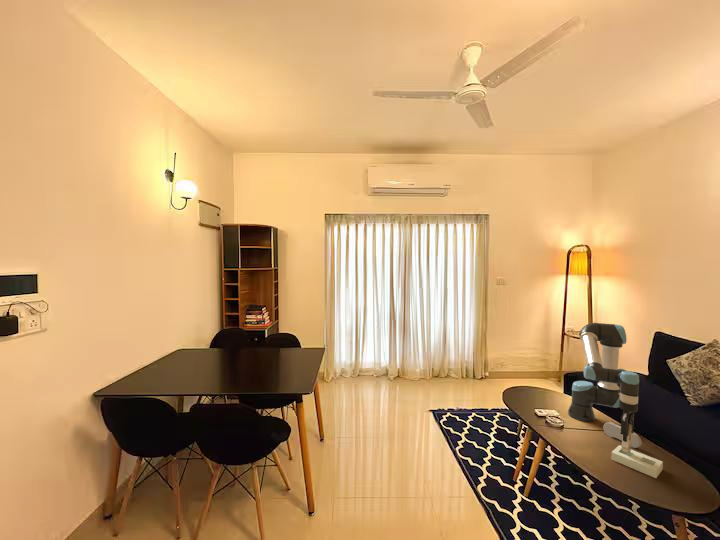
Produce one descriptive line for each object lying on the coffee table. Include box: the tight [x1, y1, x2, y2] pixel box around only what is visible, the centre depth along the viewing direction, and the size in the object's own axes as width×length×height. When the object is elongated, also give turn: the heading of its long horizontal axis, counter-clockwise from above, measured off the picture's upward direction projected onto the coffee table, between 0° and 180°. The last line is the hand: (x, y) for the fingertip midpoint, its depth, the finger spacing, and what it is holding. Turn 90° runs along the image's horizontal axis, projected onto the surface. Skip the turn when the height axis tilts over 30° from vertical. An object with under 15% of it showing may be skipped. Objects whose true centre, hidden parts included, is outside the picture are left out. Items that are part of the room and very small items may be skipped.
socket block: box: [610, 444, 664, 479], centre depth 169 cm, size 12×18×4 cm, turn 36°
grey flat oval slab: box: [602, 421, 643, 449], centre depth 191 cm, size 20×2×8 cm, turn 20°
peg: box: [621, 424, 632, 453], centre depth 173 cm, size 4×4×14 cm
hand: (626, 445), depth 173 cm, fingers closed on peg, 3 cm apart
